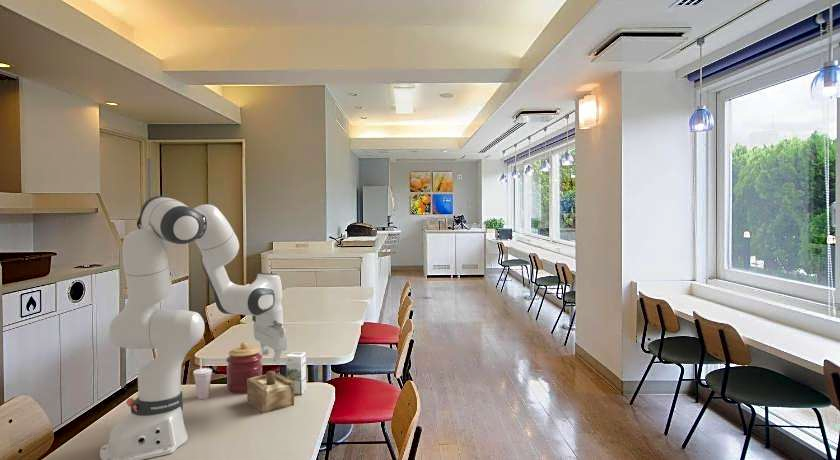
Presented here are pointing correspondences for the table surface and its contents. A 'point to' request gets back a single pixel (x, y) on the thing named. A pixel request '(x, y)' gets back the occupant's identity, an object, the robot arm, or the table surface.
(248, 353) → the canister
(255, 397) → the lid box
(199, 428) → the table surface
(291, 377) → the syrup box
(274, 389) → the lid
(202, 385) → the smoothie
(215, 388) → the table surface
